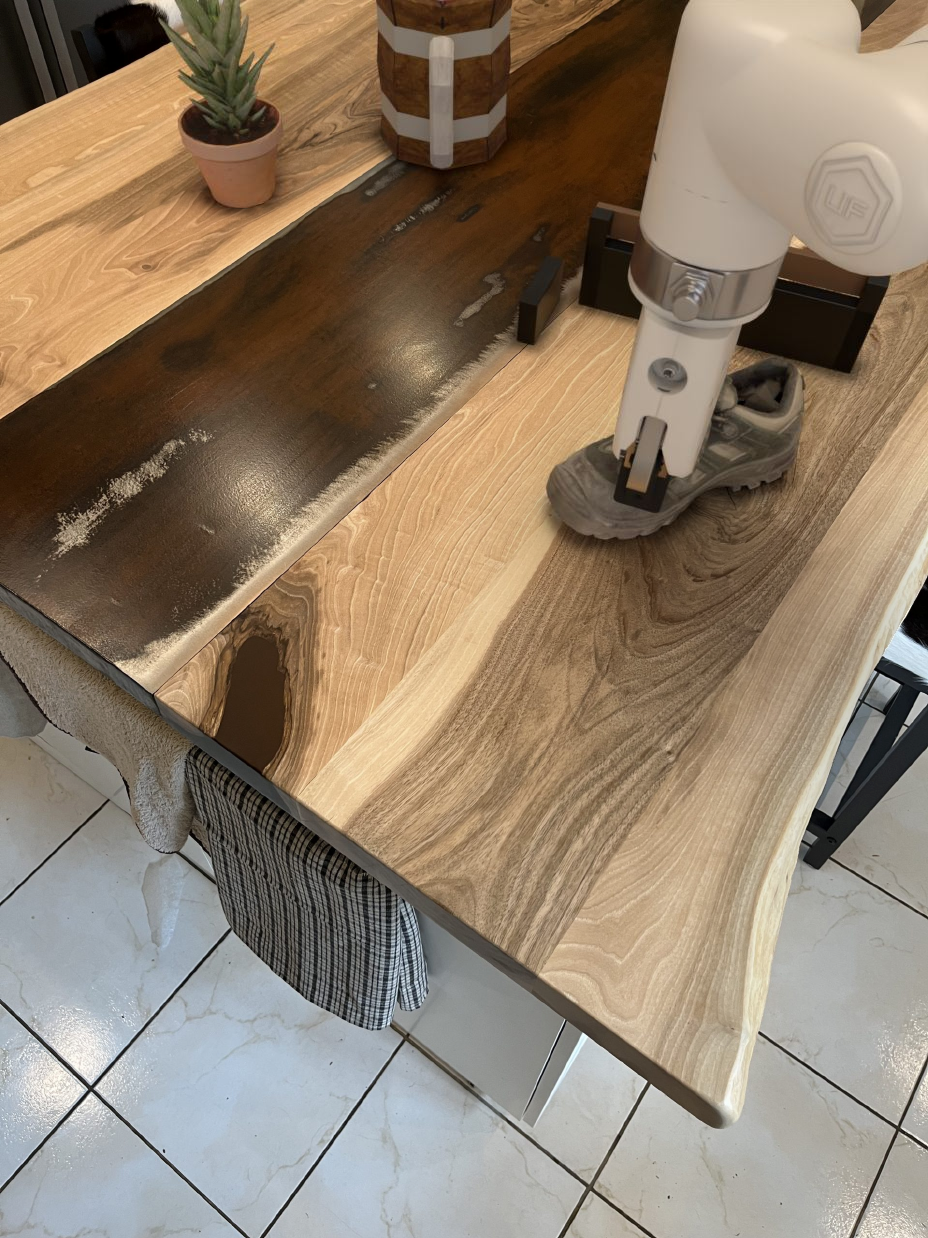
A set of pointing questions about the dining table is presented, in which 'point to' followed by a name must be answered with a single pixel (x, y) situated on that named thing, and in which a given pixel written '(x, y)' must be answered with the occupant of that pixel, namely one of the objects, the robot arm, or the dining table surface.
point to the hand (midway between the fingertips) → (638, 499)
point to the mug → (444, 79)
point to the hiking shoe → (729, 456)
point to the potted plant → (226, 105)
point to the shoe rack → (787, 327)
